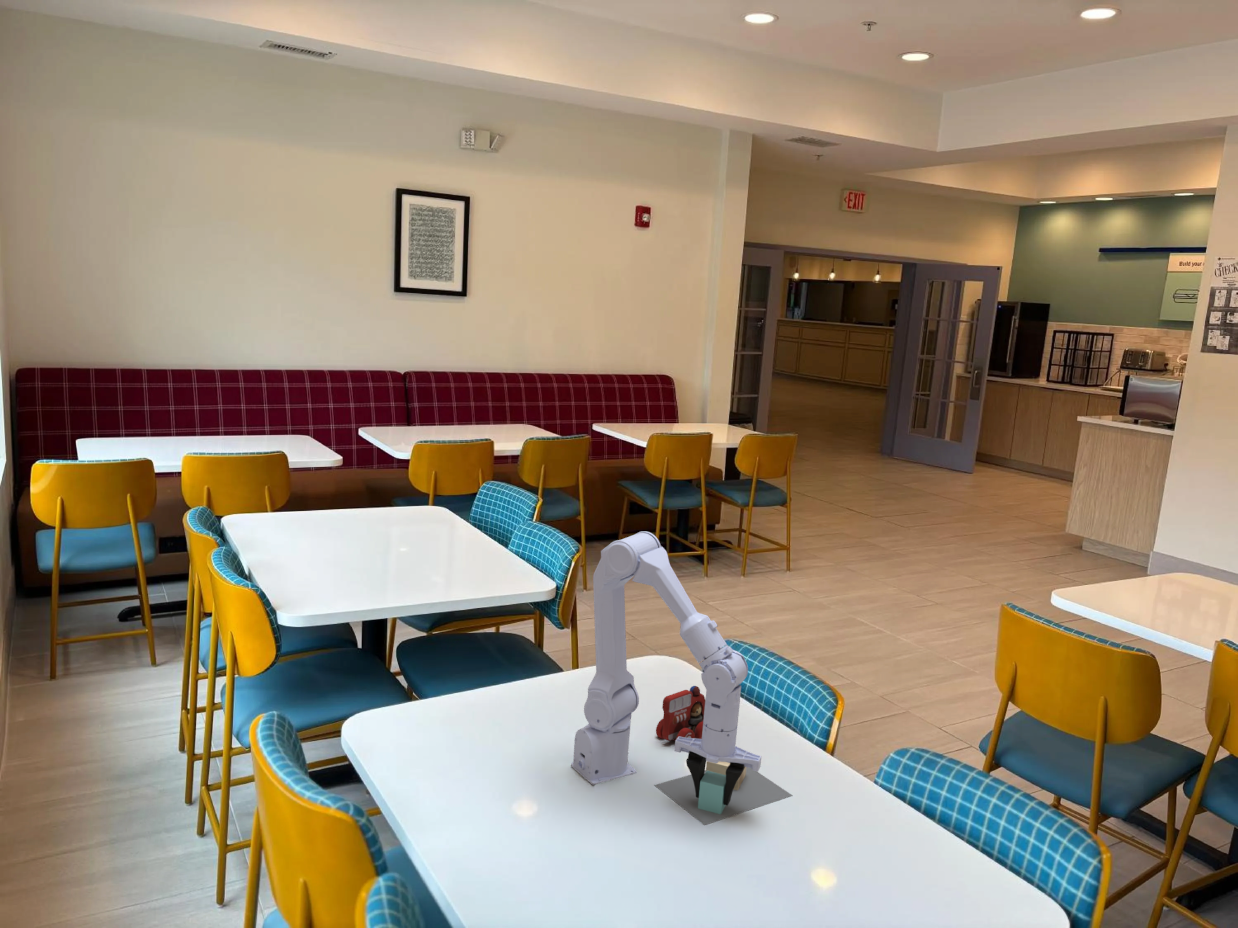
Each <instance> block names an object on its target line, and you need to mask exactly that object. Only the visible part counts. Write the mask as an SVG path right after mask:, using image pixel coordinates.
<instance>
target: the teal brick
mask: <svg viewBox="0 0 1238 928" xmlns="http://www.w3.org/2000/svg"><path fill="white" fill-rule="evenodd" d="M725 789H726V775H723V774H719V773H715V772H711V771H706V773H705V774H704V776H703V778H702V779H701V781H700V791H699V801H698V809H702V810H706V811H710V812H713V813H717V814H721V813H722V811H723V809H724V807H725V806H726V805H724V795H725Z"/></svg>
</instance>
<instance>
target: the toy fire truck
mask: <svg viewBox="0 0 1238 928" xmlns="http://www.w3.org/2000/svg"><path fill="white" fill-rule="evenodd" d="M705 699H706V696H705V695H704V694H703V693H701V689H700V687H698V686H696V685H693V686H691V687H690V688H689V690H688V689H684V690H680V691H677V692H675V693H672V694H669V695H666V696H665V697H664V698H663V700H662V711H663V717H662V718H661V719H660V720H659V721H658V723H657V725H656V727H655V735H656V736H657V738H659V739H661V740H666V741H669V742H670V741H674V742H675V741H676V739H677V738H678V737H679V736H680V737H685V738H695V739H702V731H703V720H704V709H705Z"/></svg>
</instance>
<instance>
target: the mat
mask: <svg viewBox="0 0 1238 928" xmlns="http://www.w3.org/2000/svg"><path fill="white" fill-rule="evenodd" d="M705 773H706V769H705V772H704V774H705ZM653 786H654V787H656V788H657V789H658V790H660V792H662V793H663V794H664V795H666V796H667V797H668V798H670V800H672V801H673V802H675V803H676V804H677V805H678V806H679V807H681V808H682V809H683V810H685V811H686V812H687V813H688V814H689V815H691V816H692V817H693V818H694V819H696V820H697V821H698V822H699V823H701V824H702V825H703V826H707V825H710V824H712V823H715V822H718V821H722V820H724V819H727V818H730V817H731V818H732V817H733V816H736V815H740V814H742V813H743V814H744V813H746V812H749V811H751V810H755V809H758V808H760V807H763V806H766V805H769V804H772V803H775V802H779V801H781V800H784V799H787V798H790V797H793V794H791V793H790V792H788V791H787V790H785V789H784V788H782V787H781V786H780V785H778V784H776V783H775V782H774V781H772V780H771V779H769V778H768V777H766V776H764V775H763V774H761V773H760V772H759V771H758V772H757V771H753V770H752V768H749V767H746V775H745V777H744V779H743V781H742V783H741V785H740V787H739V789H738V790H734V789H733V792H732V795H731V800H730V802H729V804H728V805H726V806H725V807H724V809H723V811H722V813H721V814H717V813H713V812H710V811H706V810H702V809H698V801H699V798H697V797H696V793H695V786H694V782H693V778H692V775H691V774H688V775H684V776H681V777H678V778H675V779H670V780H668V781H667V780H666V781H663V782H661V783H658V784H654V785H653Z"/></svg>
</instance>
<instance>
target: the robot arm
mask: <svg viewBox="0 0 1238 928" xmlns="http://www.w3.org/2000/svg"><path fill="white" fill-rule="evenodd" d="M676 574H677V573H675V571H674V569H673V568H672V566H671V564H670V560H669V555H668V552H667V550H666V549H665V547H663V546H662V545H661V543H660V540H659V539H658V538H657V536H656V534H654V533H652V532H650V531H639V532H637V533H635V534H633V535H630V536H628V537H627V536H626V537H625V538H622V539H619V540H618V539H617V540H613V541H612V542H610V544H608V545H607V546H605V547H604V548H603V549H601V550H600V559H599V562H598V564H597V565H596V568H595V571H594V572H593V576H592V585H593V613H594V614H593V615H594V616H593V617H594V641H595V642H594V645H595V646H594V647H595V674H594V675H593V678H592V680H591V682H590V684H589V685H588V688H587V699H586V701H585V703H584V707H583V712H584V717H585V719H586V721H587V723H588V724H586V725H585V726H584V727H582V728H580V729H577V731H576V732H575V736H574V743H573V744H574V745H573V746H574V748H573V761H572V762H571V763H570V767H571V768H573V770H575V771H576V772H577V773H578V774H579V775H581V776H582V777H583V778H584V779H585V780H587V782H589V783H590V784H591V785H592V786H596V785H598V784H603V783H606V782H608V781H609V782H610V781H613V780H616V779H620V778H623V777H627V776H630V775H634V774H637V773H638V771H637V769H635V768H634V767H633V766H632V765H631V764H629V763H628V761H629V748H630V747H629V745H630V734H631V725H632V724H631V723H632V721H631V720H632V714H633V713H634V712H635V711H637V709H638V707H639V704H640V696H639V693H638V691H637V688H636V686H635V677H634V675H633V674H632V673H630V671H628V667H627V664H628V663H627V637H626V634H627V632H626V600H625V598H626V597H625V596H626V595H625V585H626V584H627V583H628V582H629V581H631V582H634V583H638V584H643V585H646V586H647V585H648V586H651V587H653V589H654V590H655V591H656V593H657V594H658V596H659V597H660V598H661V599H662V602H664V603H665V605H666V606H667V607H668V609H669V610H670V612H671V613H672V614H673V615H674V617H675V619H677V621H678V623H680V627H679V628H680V629H679V636H680V638H681V639H682V640H683V641H684V644H685V645H686V647H687V648H688V649H689V651H690V652H691V654H692V656H693V657H694V659H695V660H696V662H697V664H698V665H699V666H700V668H701V669H702V670H703V672H701V675H700V677H701V680H702V684H703V686H704V688H705V690H706V693H705V709H704V720H703V731H702V739H695V738H685V737H680V736H679V737H678V738H677V739H676V741H675V740H674V752H675V753H682V752H684V753H688V755H687V758H686V760H685V761H686V766H687V768H688V770H689V773H690V775H692V778H693V782H694V786H695V793H696V797H697V798H699V791H700V781H701V779H702V778H703V776H704V772H705V770H706V765H707V761H708V762H712V763H718V762H719V761H720V762H728V763H730V765H729V766H728V768H727V770H726V789H725V795H724V805H728V804H729V802H730V800H731V795H732V792H733V789H734V786H735V784H736V782H737V780H738V779H739V777H740V776H741V774H742V772H743V770H744V768H745V767H749V768H752V770H753V771H757V772H759V770H760V768H761V767H762V766H761V765H762V764H761V763H762V755H758V754H756V753H752V752H751V751H748V750H745V749H743V748H741V747H739V746H736V744H737V733H738V725H739V724H738V723H739V716H740V714H739V713H740V704H741V691H742V685H741V684H742V683H743V682H744V681H745V679H746V678H747V677H748V672H749V666H748V663H747V660H746V658H745V656H744V655H743V653H740V652H739V651H737V650H735V649H733V648H732V647H731V646H730V645H728V644H727V642H726V641H725V639H724V638H723V636H722V634H721V633H720V631H719V630H718V629H717V628H718V624H717V622H716V621H715V620H714V619H713V620H711V619H710V617H709V615H707V614H703V613H701V612H698V611H697V609H696V608H695V606H694V604H693V603H692V602H693V601H692V600H691V599H690V596H689V595H688V594H687V592H686V591H685V588H684V587H683V585H682V583H681V581H680V580H679V578H678V576H677V575H676Z"/></svg>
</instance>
